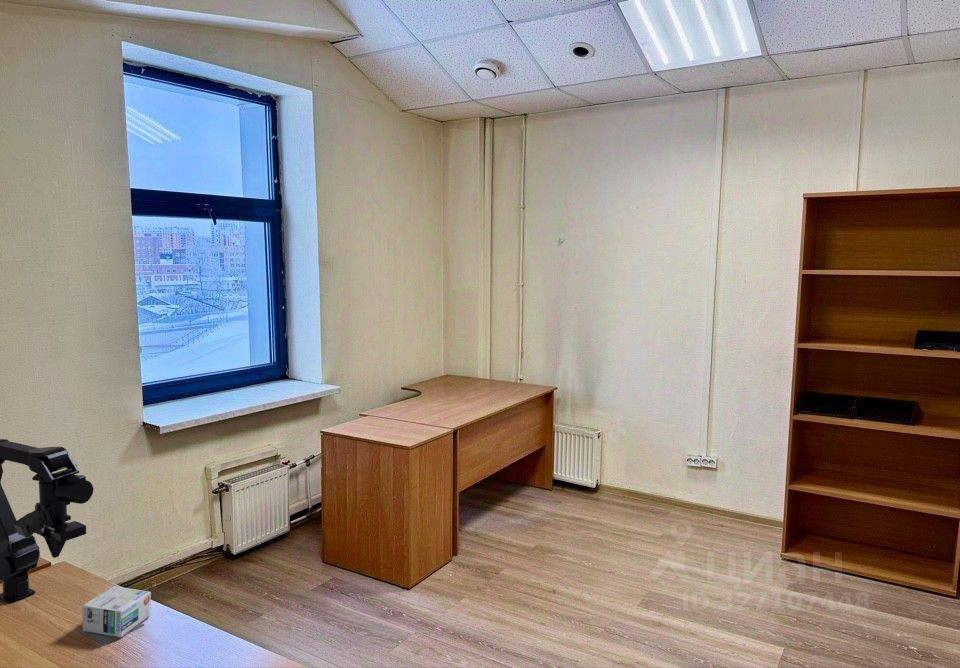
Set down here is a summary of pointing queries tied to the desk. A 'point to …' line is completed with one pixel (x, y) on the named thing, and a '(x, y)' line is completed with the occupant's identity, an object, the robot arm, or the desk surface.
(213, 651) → the desk surface
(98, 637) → the rubber mat
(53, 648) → the desk surface
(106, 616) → the light bulb box
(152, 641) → the desk surface
